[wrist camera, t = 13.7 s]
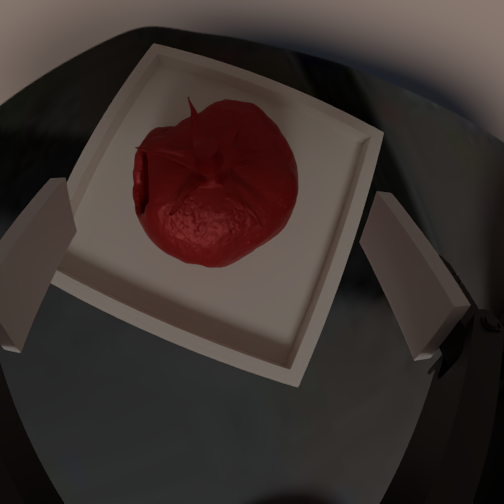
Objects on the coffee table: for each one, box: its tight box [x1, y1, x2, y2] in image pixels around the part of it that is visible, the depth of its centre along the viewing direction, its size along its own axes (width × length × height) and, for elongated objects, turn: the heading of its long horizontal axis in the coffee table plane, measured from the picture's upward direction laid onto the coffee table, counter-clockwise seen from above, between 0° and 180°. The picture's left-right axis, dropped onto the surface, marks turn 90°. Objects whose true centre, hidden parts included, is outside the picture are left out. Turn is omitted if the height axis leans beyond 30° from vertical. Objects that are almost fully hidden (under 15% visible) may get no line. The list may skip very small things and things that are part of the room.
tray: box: [51, 43, 384, 387], centre depth 22 cm, size 20×20×2 cm
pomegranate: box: [132, 96, 299, 268], centre depth 18 cm, size 10×10×9 cm
